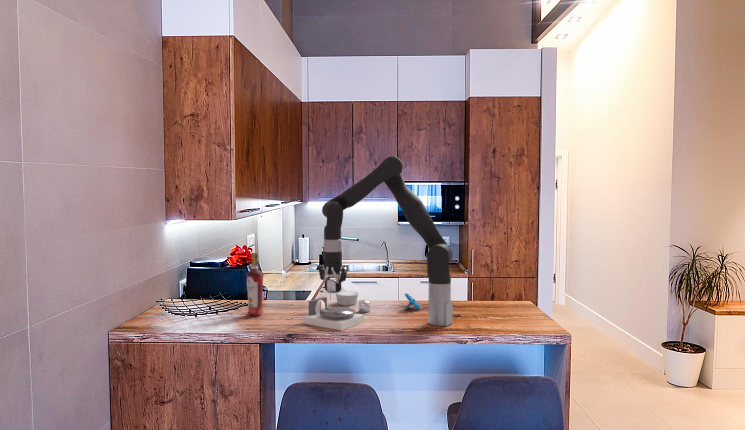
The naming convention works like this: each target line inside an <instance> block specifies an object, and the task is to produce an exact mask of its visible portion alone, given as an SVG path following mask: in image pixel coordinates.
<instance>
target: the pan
mask: <svg viewBox="0 0 745 430" xmlns="http://www.w3.org/2000/svg"><path fill="white" fill-rule="evenodd" d="M355 313H356V309H354V308H351V307H346V306H332V307H330V306H329V307H327V308H325V309H322V310H320V315H321V316H324V317H330V318H343V317H349V316H353V315H355Z"/></svg>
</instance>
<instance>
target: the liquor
mask: <svg viewBox="0 0 745 430" xmlns="http://www.w3.org/2000/svg"><path fill="white" fill-rule="evenodd" d="M258 255H259V253H258V252H251V267H250V268H251V270H249V271H248V272H246V275H245V276H246V287H247V288H246V290H247V305H248V306H247V307H248V310H247V315H249V316H250V317H255V318H256V317H260V316H261V315H262V314H264V311H263V289H264V272H263V271H261V270H259V265H258V264H259V263H258V257H259V256H258Z"/></svg>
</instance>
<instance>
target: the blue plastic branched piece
mask: <svg viewBox="0 0 745 430" xmlns="http://www.w3.org/2000/svg"><path fill="white" fill-rule="evenodd" d="M404 296H405V297H406V299H407V301H409V302H408V303H407V305H406V306H404V309H405V310H408V309H409V308H410V306H413V307H414V308H416V309H417V310H419V311H420V310H421V309H422V308H421V306H420V305H419V303H418V302H417V301H416V299H415V298H413V297H412V295H410V294H409V293H407V292H406V293H404Z"/></svg>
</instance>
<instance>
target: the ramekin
mask: <svg viewBox="0 0 745 430" xmlns="http://www.w3.org/2000/svg"><path fill="white" fill-rule="evenodd" d="M358 296H359V292H357V291H355V290H341V291H340V292H338V293H335V297H336V298H335V299H336V303H337V304H338V305H339V306H353V305H356V304H357V302H358V298H359V297H358Z"/></svg>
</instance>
